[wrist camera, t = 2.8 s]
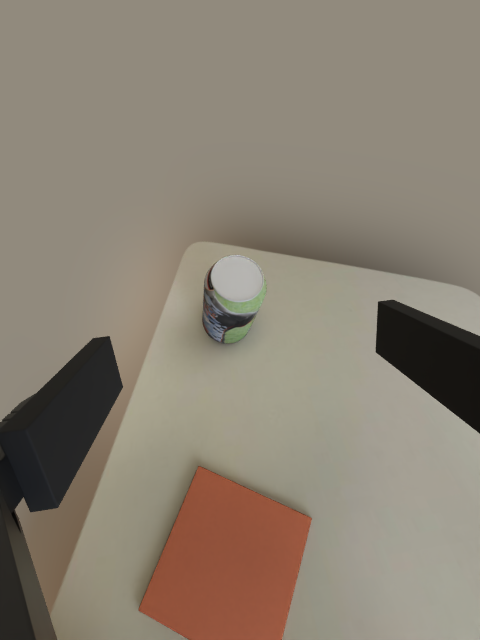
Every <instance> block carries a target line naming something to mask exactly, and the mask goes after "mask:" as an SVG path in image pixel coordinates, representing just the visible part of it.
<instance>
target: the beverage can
mask: <svg viewBox="0 0 480 640" xmlns="http://www.w3.org/2000/svg"><path fill="white" fill-rule="evenodd" d="M265 294H266V280H265V278H264V275H263V273H262V270H261V269H260V267H259V266H258V265H257V263H255V262H254V261H253V260H251V259H250V258H248V257H245V256H241V255H230V256H226V257H224V258H222V259H220V260H219V261H218V262H216V263H215V264H214V265H213V266H212V267H211V268H210V269H209V270H208V272H207V274H206V277H205V282H204V299H203V326H204V329H205V331H206V332H207V334H208V335H209V336H210V337H211V338H212V339H214V340H216V341H218V342H221V343H234V342H237V341H239V340H241V339H242V338H243V337H244V336H245V335H246V334H247V333H248V331H249V329H250V327H251V325H252V323H253V320H254V318H255V316H256V314H257V312H258V310H259V308H260V306H261V304H262V302H263V299H264V297H265Z"/></svg>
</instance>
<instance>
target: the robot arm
mask: <svg viewBox="0 0 480 640" xmlns="http://www.w3.org/2000/svg"><path fill="white" fill-rule="evenodd" d="M376 353H377V354H379V355H380V356H381V357H383V358H384V359H385V360H386V361H388V362H389V363H390V364H392V365H393V366H394V367H395V368H397V369H398V370H399V371H400V372H402V373H403V374H404V375H406V376H407V377H408V378H409V379H411V380H412V381H413V382H415V383H416V384H417V385H418V386H420V387H421V388H422V389H424V390H425V391H426V392H427V393H429V394H430V395H431V396H432V397H434V398H435V399H436V400H438V401H439V402H440V403H441V404H443V405H444V406H445V407H447V408H448V409H449V410H450V411H452V412H453V413H454V414H455V415H457V416H458V417H459V418H461V419H462V420H463V421H464V422H466V423H467V424H468V425H470V426H471V427H472V428H473V429H475V430H476V431H477V432H478V433H480V336H478V335H476V334H473V333H471V332H469V331H466V330H464V329H461V328H459V327H457V326H454V325H452V324H450V323H447V322H445V321H442V320H440V319H438V318H435V317H433V316H430V315H428V314H426V313H423V312H421V311H419V310H416V309H414V308H411V307H409V306H407V305H404V304H402V303H400V302H397V301H395V300H387V301H379V302H378V315H377V336H376ZM122 388H123V385H122V382H121V378H120V374H119V370H118V366H117V363H116V359H115V355H114V351H113V348H112V344H111V340H110V337H109V336H107V337H100V338H93V339H92V340H91V341H90V342H89V343H88V344H87V345H86V346H85V347H84V348H83V349H81V350H80V351H79V352H78V353H77V354H76V355H75V356H74V357H73V358H72V359H71V360H70V361H69V362H68V363H67V364H66V365H65V366H64V367H63V368H62V369H61V370H60V371H59V372H58V373H57V374H56V375H55V376H54V377H53V378H52V379H51V380H50V381H49V382H48V383H47V384H45V385H44V387H43V388H41V389H40V390H39V391H38V392H37V393H36V394H34V395H32V396H31V397H29V398H27V399H26V400H24V401H23V402H21V403H20V404H19V405H18V406H17V407H15V408H14V410H12V411H11V414H8V415H7V416H6V417H5V418H4V419H3V420H2V422H0V640H57V637H56V634H55V631H54V628H53V625H52V621H51V618H50V615H49V612H48V609H47V606H46V603H45V599H44V596H43V593H42V591H41V587H40V584H39V581H38V578H37V574H36V571H35V568H34V565H33V562H32V559H31V555H30V552H29V549H28V546H27V543H26V540H25V537H24V534H23V530H22V527H21V524H20V521H19V518H18V516H17V514H16V512H15V508H16V507H17V505H18V504H19V502H20V501H21V499H22V498H23V497H24V499H25V501H26V503H27V506H28V508H29V510H30V512H35V511H42V510H48V509H53V508H58V507H59V505H60V503H61V501H62V499H63V497H64V496H65V494H66V492H67V490H68V488H69V486H70V484H71V483H72V480H73V479H74V477H75V475H76V473H77V471H78V470H79V468H80V466H81V464H82V462H83V460H84V458H85V457H86V455H87V453H88V451H89V449H90V447H91V445H92V443H93V442H94V440H95V438H96V436H97V434H98V432H99V430H100V428H101V427H102V425H103V423H104V421H105V419H106V418H107V416H108V414H109V412H110V410H111V408H112V406H113V405H114V403H115V401H116V399H117V397H118V395H119V393H120V392H121V390H122Z"/></svg>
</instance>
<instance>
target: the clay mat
mask: <svg viewBox="0 0 480 640" xmlns="http://www.w3.org/2000/svg"><path fill="white" fill-rule="evenodd" d="M311 520H312V518H310V517H308V516H306V515H304V514H302V513H300V512H298V511H295V510H293V509H291V508H289V507H287V506H285V505H282V504H280V503H278V502H276V501H274V500H272V499H269V498H267V497H265V496H263V495H261V494H259V493H257V492H254V491H252V490H250V489H248V488H246V487H244V486H241V485H239V484H237V483H235V482H233V481H231V480H229V479H226V478H224V477H222V476H220V475H218V474H216V473H213V472H211V471H209V470H207V469H205V468H203V467H200V466H198V469H197V471H196V473H195V476H194V478H193V481H192V483H191V485H190V488H189V490H188V493H187V495H186V497H185V500H184V502H183V504H182V507H181V509H180V512H179V514H178V516H177V519H176V521H175V524H174V526H173V528H172V531H171V533H170V536H169V538H168V540H167V543H166V545H165V547H164V550H163V552H162V555H161V557H160V559H159V562H158V564H157V567H156V569H155V571H154V574H153V576H152V579H151V581H150V583H149V586H148V588H147V590H146V593H145V595H144V598H143V600H142V602H141V605H140V607H139V611H141V612H142V613H144V614H146V615H148V616H149V617H151V618H153V619H154V620H156V621H158V622H160V623H161V624H163V625H165V626H167V627H168V628H170V629H172V630H173V631H175V632H177V633H179V634H180V635H182V636H184V637H186V638H187V639H189V640H282V636H283V632H284V628H285V624H286V620H287V616H288V612H289V608H290V604H291V600H292V596H293V592H294V588H295V584H296V580H297V576H298V572H299V568H300V564H301V560H302V556H303V552H304V548H305V544H306V540H307V536H308V532H309V528H310V524H311Z"/></svg>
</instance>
